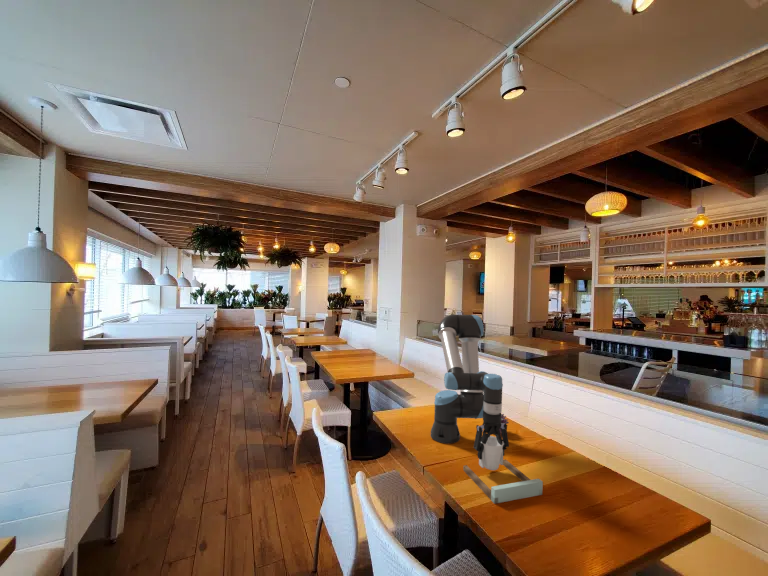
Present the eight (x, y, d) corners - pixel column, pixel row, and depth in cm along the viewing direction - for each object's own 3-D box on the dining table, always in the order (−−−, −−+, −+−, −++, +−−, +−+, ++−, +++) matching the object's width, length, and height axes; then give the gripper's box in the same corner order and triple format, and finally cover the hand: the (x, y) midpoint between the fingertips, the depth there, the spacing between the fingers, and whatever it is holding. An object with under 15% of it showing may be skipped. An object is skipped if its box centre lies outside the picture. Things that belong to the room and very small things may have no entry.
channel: (463, 470, 139) (463, 465, 139) (505, 463, 145) (505, 459, 145) (494, 503, 118) (494, 498, 118) (542, 494, 124) (542, 489, 124)
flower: (510, 431, 178) (510, 409, 178) (505, 440, 168) (506, 417, 168) (488, 426, 184) (489, 405, 184) (483, 434, 174) (483, 411, 174)
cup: (505, 474, 132) (505, 448, 132) (479, 471, 134) (480, 445, 134) (501, 462, 142) (501, 437, 141) (477, 459, 144) (478, 434, 143)
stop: (491, 500, 120) (491, 486, 120) (538, 491, 126) (538, 478, 126) (494, 503, 118) (494, 490, 118) (542, 494, 124) (542, 481, 124)
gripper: (475, 417, 131) (473, 473, 131) (519, 412, 137) (517, 466, 137) (465, 410, 138) (464, 463, 138) (507, 406, 144) (506, 457, 144)
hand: (490, 464), depth 138 cm, fingers closed on cup, 8 cm apart
